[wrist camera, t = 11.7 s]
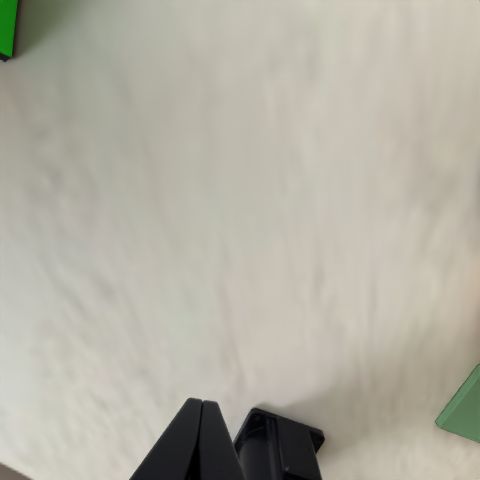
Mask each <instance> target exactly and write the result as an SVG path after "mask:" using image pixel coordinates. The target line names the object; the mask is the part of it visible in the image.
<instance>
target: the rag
mask: <svg viewBox="0 0 480 480" xmlns="http://www.w3.org/2000/svg"><path fill="white" fill-rule="evenodd" d="M436 423H437V425H438V426H439V427H440V428H442V429H444V430H447V431H450V432H452V433H455V434H458V435H460V436H463V437H466V438H469V439H471V440H474V441H477V442H479V443H480V364H479V365H478V366H477V367H476V368H475V370H474V371H473V372H472V374H471V375H470V376H469V378H468V379H467V380H466V382H465V383H464V384H463V386H462V387H461V388H460V390H459V391H458V392H457V394H456V395H455V396H454V398H453V399H452V400H451V402H450V403H449V404H448V406H447V407H446V408H445V410H444V411H443V412H442V413H441V415H440V416H439V417H438V419H437V420H436Z"/></svg>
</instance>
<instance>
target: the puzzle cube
mask: <svg viewBox="0 0 480 480" xmlns="http://www.w3.org/2000/svg"><path fill="white" fill-rule="evenodd" d="M17 2H18V0H0V60H1V61H4V62H6V61H7V60H9V59H10V58H12V49H13V40H14V30H15V21H16V12H17Z"/></svg>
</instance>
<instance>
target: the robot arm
mask: <svg viewBox="0 0 480 480" xmlns="http://www.w3.org/2000/svg"><path fill="white" fill-rule="evenodd" d="M254 415H257V416H254ZM324 441H325V437H324V434H323V432H322V431H321V430H318V429H315V428H312V427H310V426H307V425H304V424H301V423H298V422H295V421H293V420H290V419H287V418H284V417H281V416H278V415H275V414H273V413H270V412H267V411H264V410H261V409H258V408H254V409H252V410H251V411H250V412H249V414H248V416H247V418H246V419H245V421H244V423H243V425H242V427H241V429H240V430H239V432H238V434H237V436H236V438H235V440H234V441H233V443H232V440H231V437H230V435H229V432H228V429H227V427H226V424H225V421H224V419H223V416H222V413H221V411H220V408H219V405H218V403H217V402H215V401H209V400H204V401H203V403H202V400H201V399H196V398H188V399H187V401H186V402H185V403H184V405H183V406H182V408H181V409H180V410H179V412H178V413H177V414H176V416H175V417H174V419H173V420H172V421H171V423H170V424H169V426H168V427H167V428H166V430H165V431H164V432H163V434H162V435H161V437H160V438H159V439H158V441H157V442H156V443H155V445H154V446H153V448H152V449H151V450H150V452H149V453H148V455H147V456H146V457H145V459H144V460H143V461H142V463H141V464H140V466H139V467H138V468H137V470H136V471H135V472H134V474H133V475H132V477H131V478H130V479H129V480H322V477H321V473H320V469H319V466H318V462H317V458H316V453H317V452H318V450H319V449H320V447H321V445H322V444H323V442H324Z"/></svg>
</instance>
